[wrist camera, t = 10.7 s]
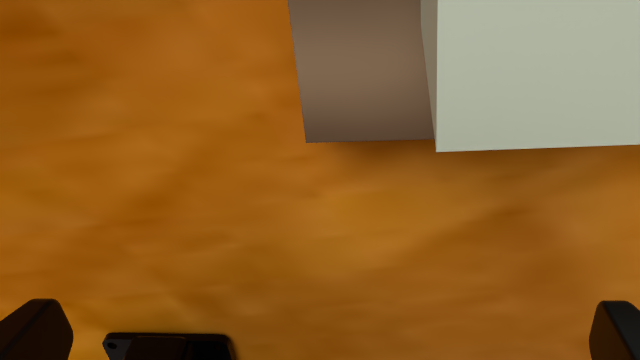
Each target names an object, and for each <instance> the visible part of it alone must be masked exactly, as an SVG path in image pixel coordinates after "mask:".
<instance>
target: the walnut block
mask: <svg viewBox="0 0 640 360" xmlns="http://www.w3.org/2000/svg"><path fill="white" fill-rule="evenodd" d="M288 6H289V14H290V22H291V29H292V37H293V45H294V52H295V60H296V68H297V75H298V83H299V91H300V98H301V106H302V114H303V122H304V129H305V137H306V143H318V142H353V141H387V140H422V139H435V137H434V129H433V121H432V113H431V105H430V96H429V88H428V80H427V72H426V64H425V56H424V47H423V39H422V31H421V0H288Z"/></svg>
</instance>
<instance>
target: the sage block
mask: <svg viewBox="0 0 640 360" xmlns="http://www.w3.org/2000/svg"><path fill="white" fill-rule="evenodd" d="M421 31H422V39H423V47H424V56H425V64H426V72H427V80H428V88H429V96H430V105H431V113H432V121H433V129H434V137H435V145H436V152H450V151H477V150H504V149H531V148H557V147H584V146H611V145H638V144H640V0H421Z"/></svg>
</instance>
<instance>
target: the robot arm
mask: <svg viewBox="0 0 640 360" xmlns="http://www.w3.org/2000/svg"><path fill="white" fill-rule="evenodd" d="M72 343H73V330H72V328H71V325H70V323H69V321H68V319H67V317H66V315H65V313H64V311H63V309H62V307H61V305H60V303H59V302H58V301H57V300H55V299H32V300H30V301H28V302H27V303H25V304H24V305H22V306H21V307H20V308H18V309H17V310H15V311H14V312H13V313H11V314H10V315H8V316H7V317H6V318H4V319H3V320H1V321H0V360H68V357H69V353H70V350H71V347H72ZM102 344H103V347H104V349H105V351H106V353H107V355H108V357H109V359H110V360H235V356H234V353H233V349H232V346H231V343H230V340H229V339H228V338H227V337H226V336H223V335H219V334H156V333H109V334H107V335H106V337H105V339H104V341H103V343H102ZM589 347H590V353H591V358H592V360H640V310H638V309H637V308H636V307H635V306H634V305H633V304H631V303H629V302H628V301H601V302H599V304H598V305H597V308H596V312H595V316H594V320H593V324H592V328H591V332H590V336H589Z"/></svg>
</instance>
